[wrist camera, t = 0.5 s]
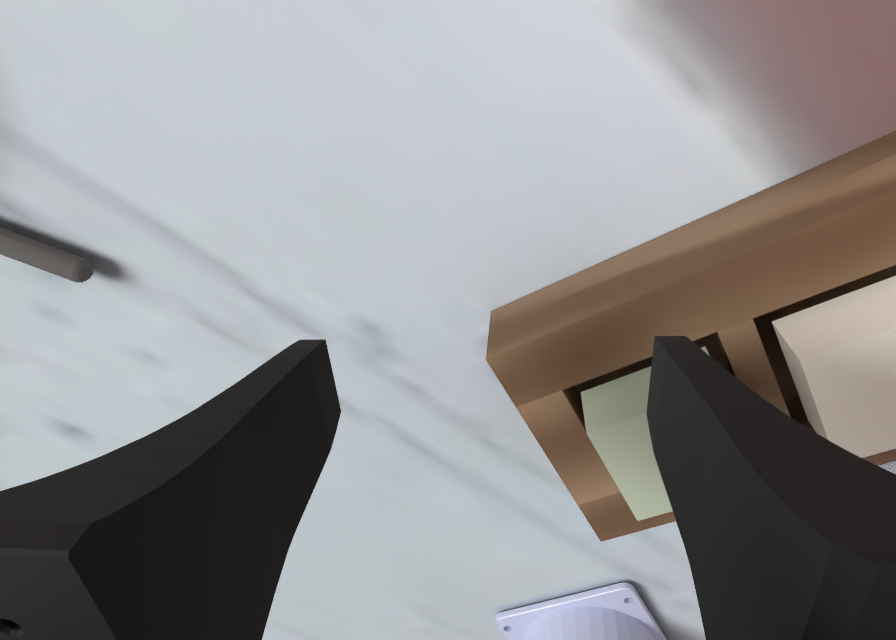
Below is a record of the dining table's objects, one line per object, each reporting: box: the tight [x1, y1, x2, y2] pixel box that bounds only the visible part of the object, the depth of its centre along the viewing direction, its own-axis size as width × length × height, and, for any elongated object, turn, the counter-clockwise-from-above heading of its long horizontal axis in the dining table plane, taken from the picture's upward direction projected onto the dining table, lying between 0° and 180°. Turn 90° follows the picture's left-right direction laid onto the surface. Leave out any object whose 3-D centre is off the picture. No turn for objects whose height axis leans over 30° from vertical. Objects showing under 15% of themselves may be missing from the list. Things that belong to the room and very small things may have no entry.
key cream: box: [772, 276, 896, 458], centre depth 18 cm, size 4×4×2 cm
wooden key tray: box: [486, 131, 896, 541], centre depth 20 cm, size 10×22×4 cm, turn 120°
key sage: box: [581, 346, 710, 521], centre depth 20 cm, size 4×4×2 cm
